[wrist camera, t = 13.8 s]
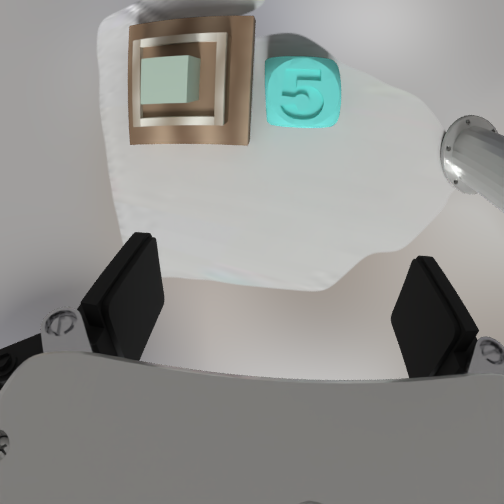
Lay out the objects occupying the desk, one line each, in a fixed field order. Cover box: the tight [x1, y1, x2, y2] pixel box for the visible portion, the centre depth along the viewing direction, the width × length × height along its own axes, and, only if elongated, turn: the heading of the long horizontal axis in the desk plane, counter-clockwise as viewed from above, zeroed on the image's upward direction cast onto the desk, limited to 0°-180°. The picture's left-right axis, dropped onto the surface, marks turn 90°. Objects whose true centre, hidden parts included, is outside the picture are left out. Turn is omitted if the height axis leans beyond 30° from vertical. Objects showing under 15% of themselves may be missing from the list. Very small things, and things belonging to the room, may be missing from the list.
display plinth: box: [128, 16, 256, 146], centre depth 32 cm, size 16×17×7 cm
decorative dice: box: [265, 56, 341, 128], centre depth 32 cm, size 8×8×8 cm
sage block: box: [141, 55, 201, 104], centre depth 28 cm, size 5×5×5 cm
